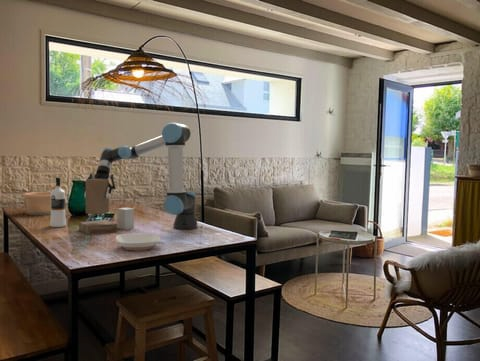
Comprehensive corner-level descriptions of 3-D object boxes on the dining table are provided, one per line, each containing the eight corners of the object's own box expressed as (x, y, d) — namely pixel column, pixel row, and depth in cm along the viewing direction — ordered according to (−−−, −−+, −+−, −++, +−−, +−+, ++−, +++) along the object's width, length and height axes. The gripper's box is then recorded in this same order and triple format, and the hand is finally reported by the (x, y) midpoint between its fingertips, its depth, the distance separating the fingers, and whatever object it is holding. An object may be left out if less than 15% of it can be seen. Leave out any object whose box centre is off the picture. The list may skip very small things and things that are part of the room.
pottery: (42, 216, 285) (42, 195, 284) (16, 214, 291) (15, 194, 290) (63, 212, 306) (63, 192, 305) (39, 210, 312) (39, 191, 311)
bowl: (163, 252, 201) (163, 241, 200) (116, 254, 193) (116, 243, 193) (156, 242, 221) (156, 232, 221) (114, 244, 214) (114, 234, 213)
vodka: (69, 225, 256) (69, 177, 254) (56, 228, 248) (56, 178, 246) (59, 224, 261) (59, 176, 259) (46, 226, 253) (46, 177, 250)
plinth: (116, 232, 244) (117, 223, 244) (90, 235, 234) (90, 226, 233) (105, 227, 256) (105, 219, 256) (79, 230, 245) (79, 222, 245)
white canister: (133, 227, 257) (134, 208, 256) (125, 229, 251) (125, 209, 250) (126, 226, 260) (126, 207, 259) (117, 228, 254) (117, 208, 253)
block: (100, 215, 238) (100, 180, 237) (84, 213, 240) (85, 179, 239) (109, 212, 248) (109, 179, 246) (94, 211, 250) (94, 178, 248)
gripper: (124, 173, 258) (118, 201, 244) (85, 172, 257) (76, 200, 243) (122, 165, 252) (115, 193, 238) (82, 164, 251) (73, 192, 237)
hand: (96, 197), depth 241 cm, fingers closed on block, 12 cm apart
